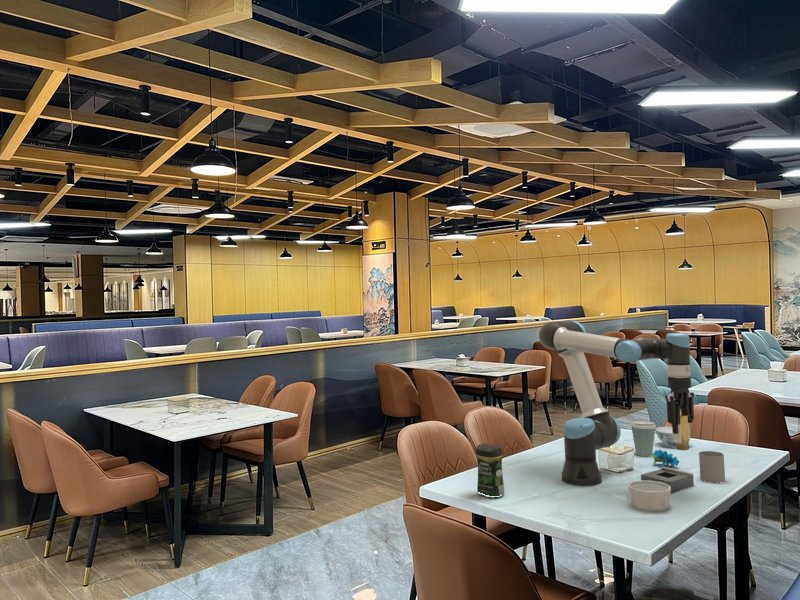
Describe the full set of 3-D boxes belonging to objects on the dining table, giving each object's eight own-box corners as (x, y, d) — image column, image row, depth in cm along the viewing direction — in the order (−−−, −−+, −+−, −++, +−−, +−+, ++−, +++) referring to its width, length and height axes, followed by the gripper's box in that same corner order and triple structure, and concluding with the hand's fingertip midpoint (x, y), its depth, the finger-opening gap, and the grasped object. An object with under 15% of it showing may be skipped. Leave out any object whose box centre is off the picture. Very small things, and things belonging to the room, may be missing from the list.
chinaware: (665, 441, 285) (664, 425, 285) (696, 445, 274) (695, 429, 274) (650, 446, 276) (649, 430, 276) (682, 451, 264) (681, 434, 264)
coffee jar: (473, 495, 214) (471, 444, 215) (487, 490, 220) (485, 440, 220) (494, 500, 207) (492, 448, 208) (508, 495, 213) (505, 444, 213)
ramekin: (622, 507, 195) (621, 486, 195) (639, 497, 204) (638, 477, 205) (662, 516, 186) (661, 494, 186) (678, 505, 195) (677, 484, 195)
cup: (711, 484, 215) (710, 457, 216) (695, 478, 223) (693, 452, 224) (730, 481, 218) (728, 454, 218) (713, 475, 226) (711, 450, 226)
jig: (670, 493, 207) (669, 480, 207) (641, 485, 217) (640, 473, 218) (693, 485, 214) (693, 473, 214) (664, 478, 225) (663, 466, 225)
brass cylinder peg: (684, 451, 205) (682, 417, 205) (672, 448, 209) (671, 415, 209) (691, 449, 207) (690, 415, 207) (680, 446, 211) (679, 413, 211)
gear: (684, 463, 238) (669, 448, 236) (679, 476, 236) (664, 460, 233) (662, 462, 248) (648, 447, 246) (657, 473, 245) (642, 459, 243)
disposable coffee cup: (628, 452, 266) (626, 419, 267) (652, 451, 266) (650, 419, 266) (636, 458, 256) (635, 424, 256) (661, 457, 255) (660, 423, 256)
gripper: (673, 379, 200) (676, 447, 200) (703, 375, 209) (706, 439, 209) (654, 377, 207) (656, 443, 207) (684, 373, 216) (686, 436, 216)
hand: (681, 441), depth 208 cm, fingers closed on brass cylinder peg, 4 cm apart
